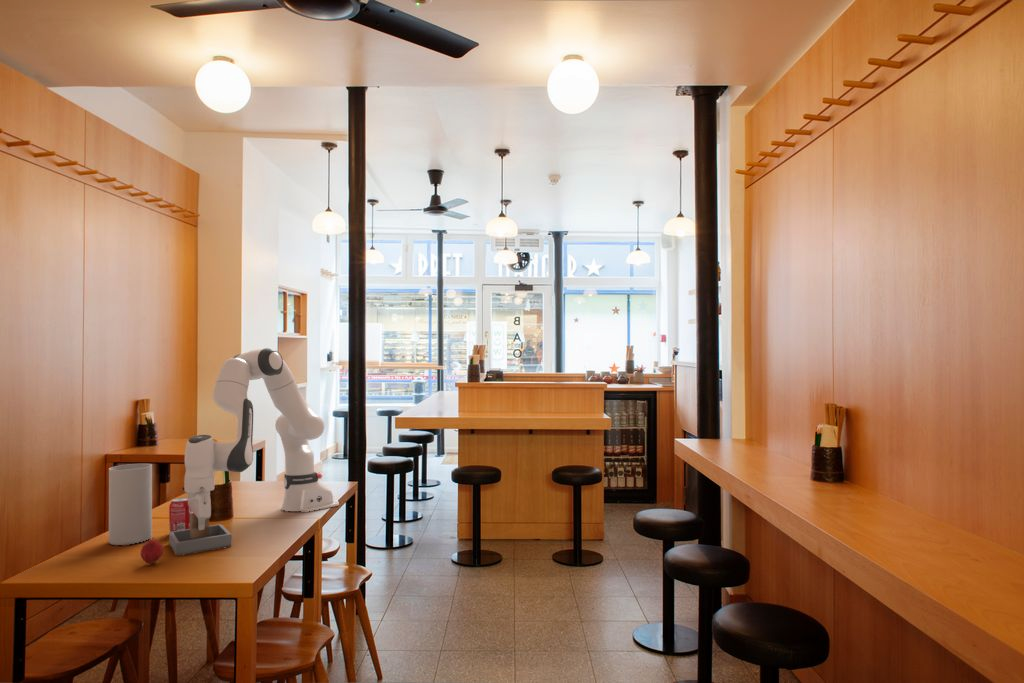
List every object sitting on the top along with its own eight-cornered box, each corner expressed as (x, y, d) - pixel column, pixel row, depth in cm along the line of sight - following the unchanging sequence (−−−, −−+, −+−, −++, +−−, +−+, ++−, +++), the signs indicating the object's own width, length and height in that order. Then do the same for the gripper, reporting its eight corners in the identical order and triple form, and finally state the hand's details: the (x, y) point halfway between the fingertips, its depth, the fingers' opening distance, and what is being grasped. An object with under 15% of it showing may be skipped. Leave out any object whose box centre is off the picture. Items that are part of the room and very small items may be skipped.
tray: (221, 535, 216) (221, 523, 216) (231, 546, 203) (231, 534, 203) (169, 544, 206) (169, 532, 206) (176, 556, 193) (176, 543, 193)
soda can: (185, 529, 224) (185, 496, 224) (195, 532, 220) (195, 498, 220) (165, 534, 218) (165, 500, 218) (175, 537, 214) (175, 502, 214)
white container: (139, 545, 205) (140, 469, 206) (100, 546, 204) (100, 470, 205) (158, 534, 217) (158, 463, 218) (121, 536, 217) (121, 464, 217)
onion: (160, 566, 184) (160, 539, 184) (138, 568, 182) (138, 541, 182) (165, 560, 189) (165, 533, 190) (143, 562, 188) (143, 535, 188)
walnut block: (206, 532, 208) (206, 511, 208) (209, 535, 204) (209, 514, 204) (189, 535, 205) (189, 513, 205) (192, 538, 201) (192, 516, 201)
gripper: (216, 489, 198) (216, 532, 198) (204, 479, 215) (204, 519, 214) (194, 491, 195) (194, 536, 194) (184, 481, 211) (184, 522, 211)
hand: (199, 527), depth 204 cm, fingers closed on walnut block, 5 cm apart
